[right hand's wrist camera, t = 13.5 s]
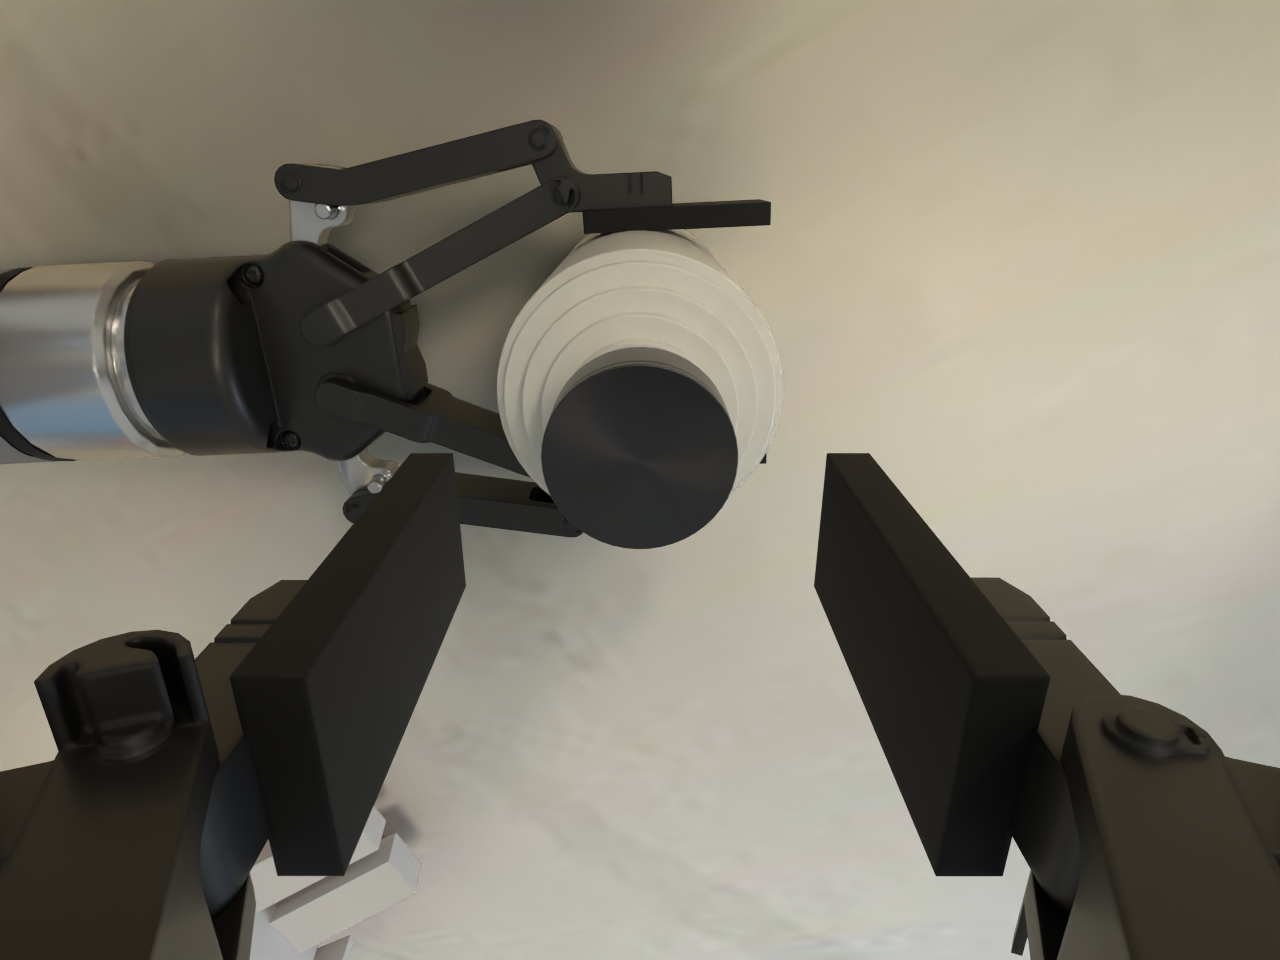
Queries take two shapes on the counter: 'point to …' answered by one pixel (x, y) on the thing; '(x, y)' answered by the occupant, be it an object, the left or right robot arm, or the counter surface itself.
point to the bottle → (640, 335)
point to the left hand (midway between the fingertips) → (762, 333)
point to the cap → (639, 449)
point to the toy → (329, 898)
